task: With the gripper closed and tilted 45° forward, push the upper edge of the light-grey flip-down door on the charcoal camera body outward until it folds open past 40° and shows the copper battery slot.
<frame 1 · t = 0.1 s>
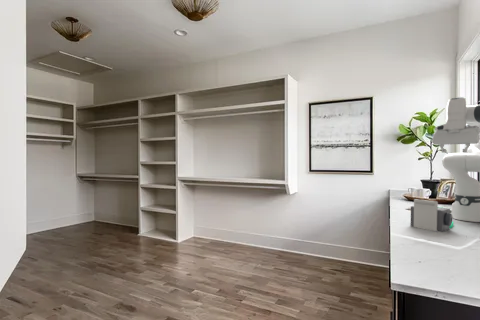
hand: (454, 152, 153), 39 cm above the countertop, tool pointing down, fingers open, 8 cm apart
camera mount: (443, 227, 149), on the countertop
camera body: (429, 229, 144), on the countertop
camera door: (424, 214, 140), point 8 cm above the countertop, hinge at 0.0°
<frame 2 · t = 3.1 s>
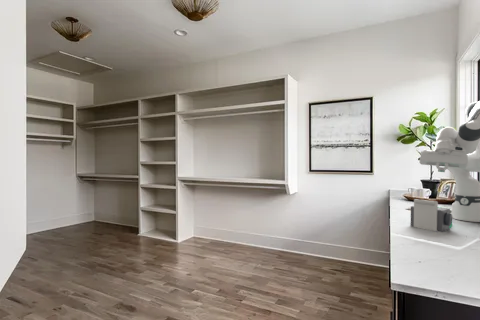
hand: (441, 171, 144), 29 cm above the countertop, tool tilted 45°, fingers closed
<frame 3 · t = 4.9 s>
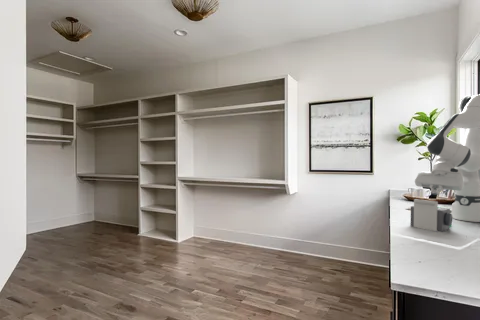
hand: (434, 193, 142), 18 cm above the countertop, tool tilted 45°, fingers closed
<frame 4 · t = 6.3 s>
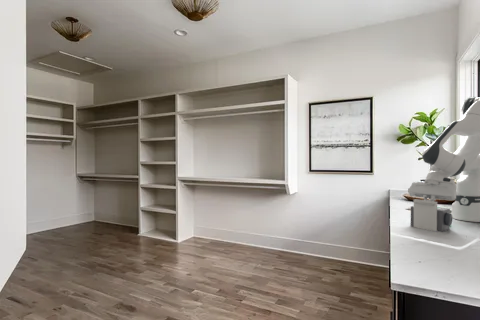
hand: (426, 203, 140), 13 cm above the countertop, tool tilted 45°, fingers closed, pressing on camera door
camera door: (424, 214, 140), point 8 cm above the countertop, hinge at 1.8°, touching gripper
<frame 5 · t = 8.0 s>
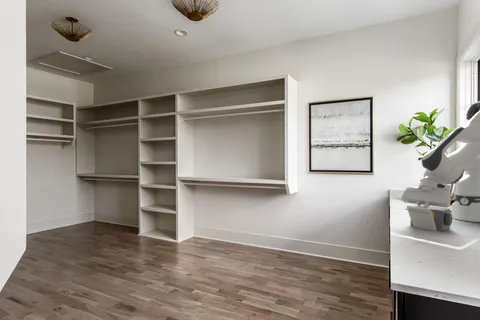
hand: (420, 210, 136), 11 cm above the countertop, tool tilted 45°, fingers closed, pressing on camera door
camera door: (421, 219, 138), point 6 cm above the countertop, hinge at 35.2°, touching gripper
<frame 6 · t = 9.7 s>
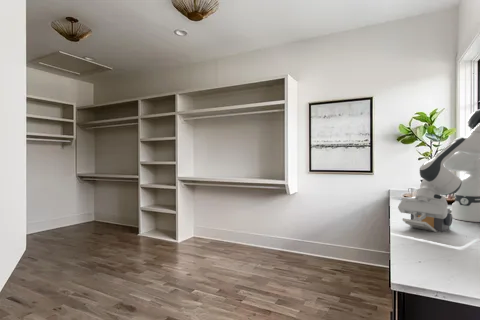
hand: (416, 221, 134), 6 cm above the countertop, tool tilted 45°, fingers closed, pressing on camera door
camera door: (419, 226, 137), point 3 cm above the countertop, hinge at 65.4°, touching gripper
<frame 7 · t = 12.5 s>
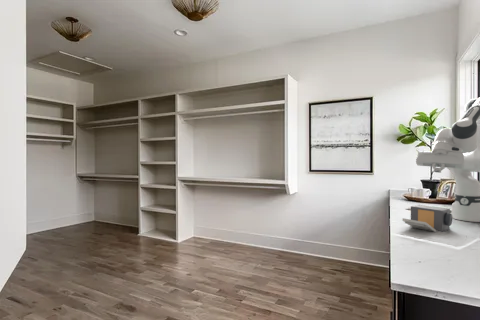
hand: (437, 171, 143), 29 cm above the countertop, tool tilted 45°, fingers closed
camera door: (419, 226, 137), point 3 cm above the countertop, hinge at 65.6°
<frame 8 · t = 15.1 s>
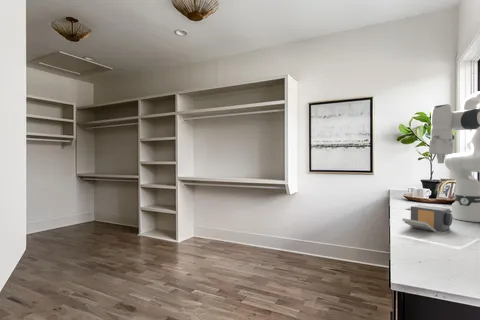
hand: (440, 163, 146), 33 cm above the countertop, tool pointing down, fingers closed
at the end: camera door at +66° (first picture: +0°) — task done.
